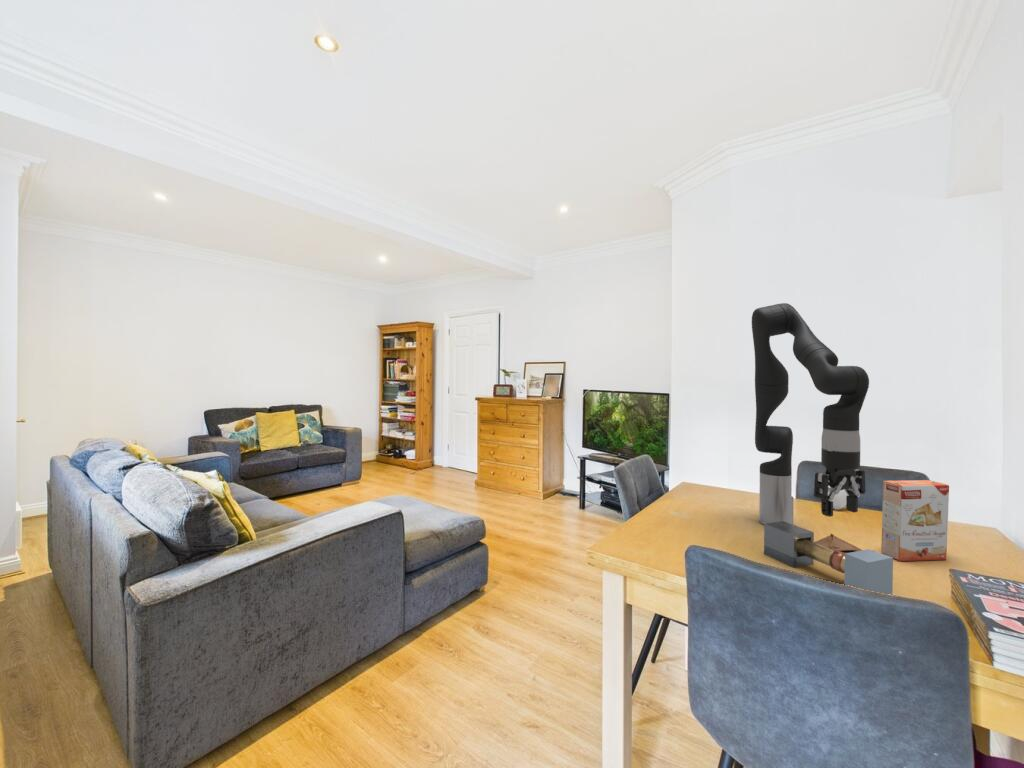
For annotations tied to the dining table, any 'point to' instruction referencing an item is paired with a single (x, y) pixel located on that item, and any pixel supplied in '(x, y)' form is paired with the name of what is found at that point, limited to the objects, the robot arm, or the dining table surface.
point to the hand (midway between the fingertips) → (839, 513)
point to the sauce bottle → (839, 499)
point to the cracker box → (915, 520)
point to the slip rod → (822, 554)
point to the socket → (869, 571)
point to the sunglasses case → (837, 544)
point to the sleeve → (786, 543)
